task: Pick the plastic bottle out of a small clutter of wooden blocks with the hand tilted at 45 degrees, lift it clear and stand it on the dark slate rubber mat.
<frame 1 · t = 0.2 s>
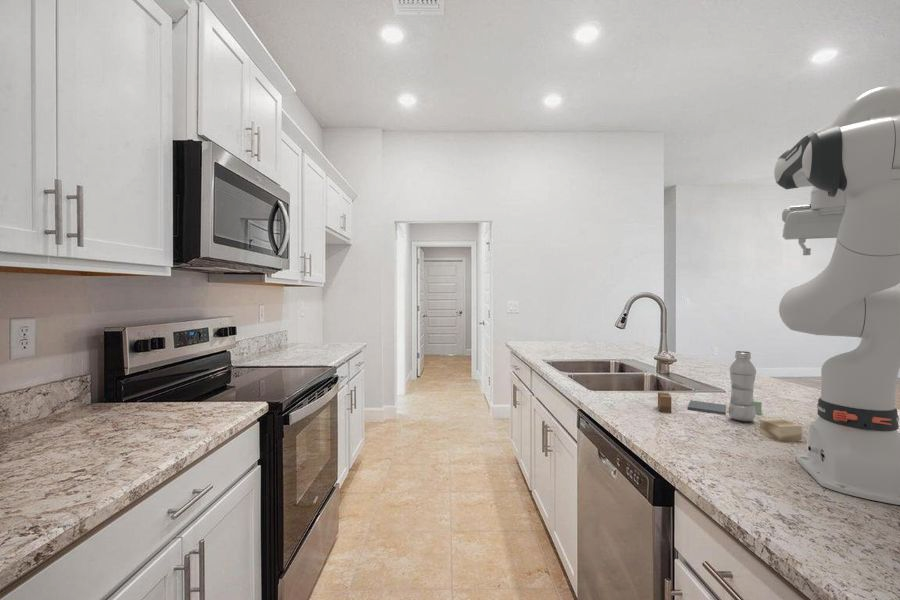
hand: (829, 254, 112), 47 cm above the worktop, tool pointing down, fingers open, 8 cm apart
plastic bottle: (741, 421, 121), on the worktop
sage brick: (752, 412, 129), on the worktop
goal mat: (706, 408, 133), on the worktop
beech brick: (780, 437, 107), on the worktop
walnut brick: (664, 410, 131), on the worktop
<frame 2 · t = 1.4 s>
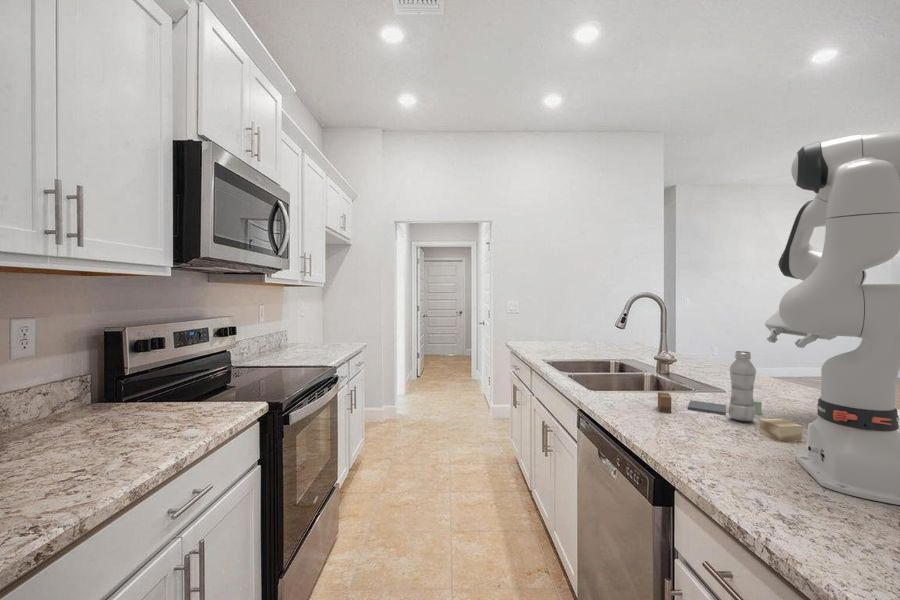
hand: (783, 343, 121), 22 cm above the worktop, tool tilted 45°, fingers open, 8 cm apart
nothing on the worktop moved.
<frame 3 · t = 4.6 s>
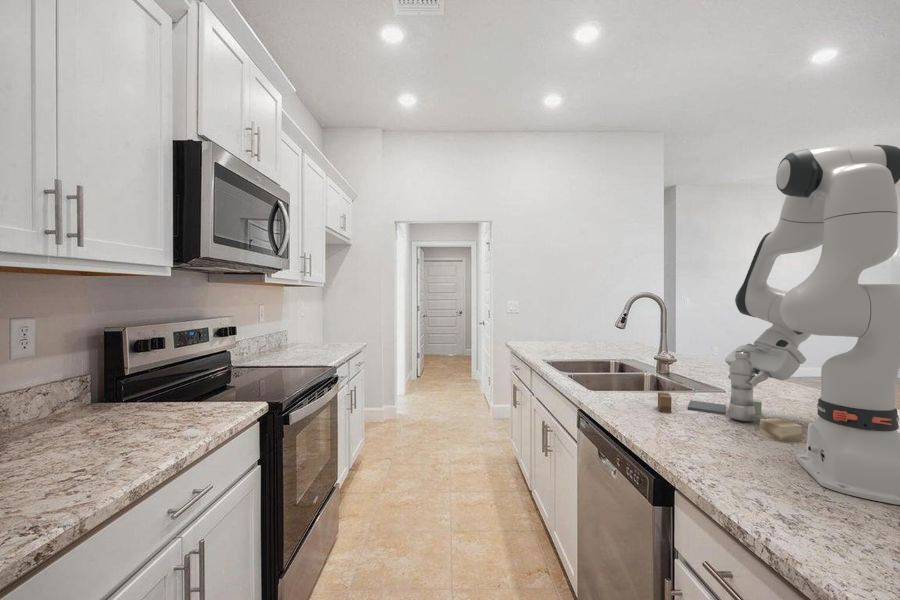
hand: (740, 381, 121), 11 cm above the worktop, tool tilted 45°, fingers closed on plastic bottle, 6 cm apart
plastic bottle: (741, 421, 121), on the worktop, touching gripper
everything else where it was.
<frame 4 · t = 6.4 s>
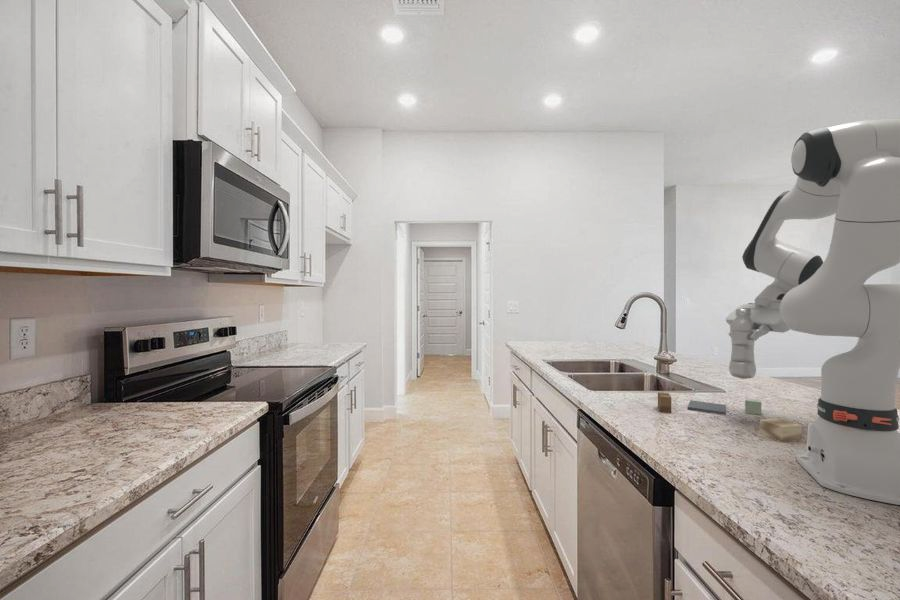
hand: (741, 337, 120), 24 cm above the worktop, tool tilted 45°, fingers closed on plastic bottle, 6 cm apart
plastic bottle: (742, 379, 121), point 12 cm above the worktop, touching gripper
everything else where it was.
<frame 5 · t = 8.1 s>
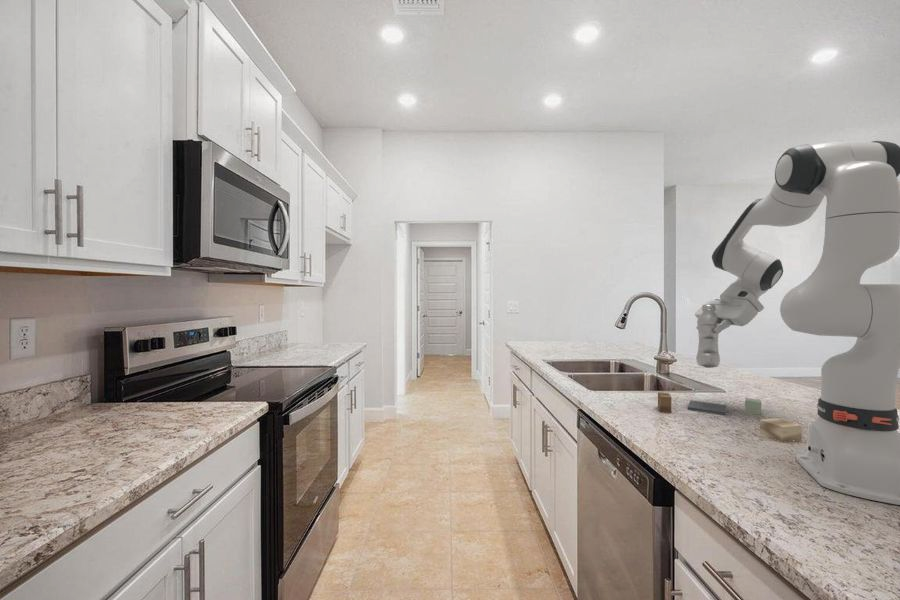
hand: (706, 330, 133), 25 cm above the worktop, tool tilted 45°, fingers closed on plastic bottle, 6 cm apart
plastic bottle: (707, 368, 133), point 13 cm above the worktop, touching gripper
everything else where it was.
when the fingers open (14 cm above the worktop, at t = 10.6 s): plastic bottle moves 3 cm, resting on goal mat.
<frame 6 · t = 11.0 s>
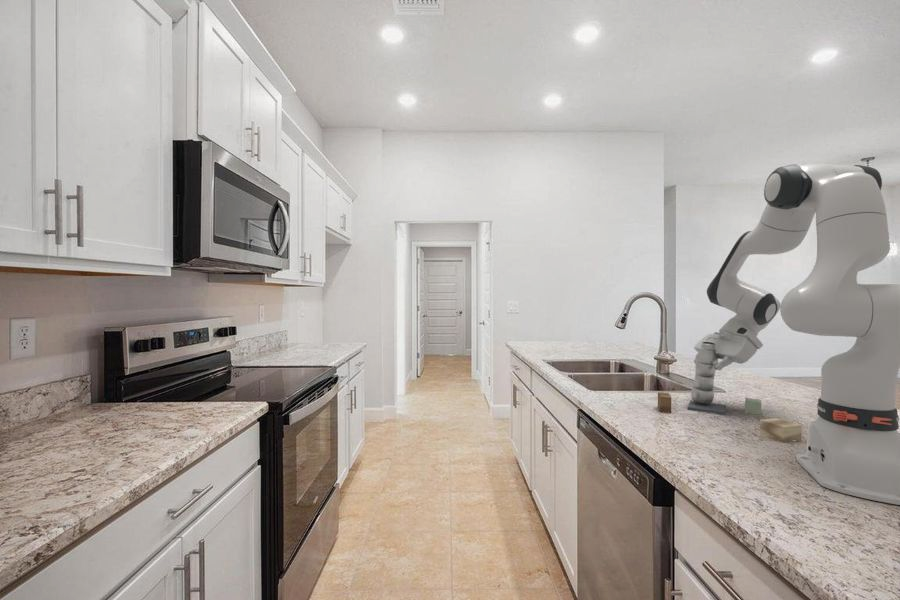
hand: (705, 365, 133), 14 cm above the worktop, tool tilted 45°, fingers open, 8 cm apart
plastic bottle: (701, 403, 136), point 1 cm above the worktop, touching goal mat, gripper
everything else where it was.
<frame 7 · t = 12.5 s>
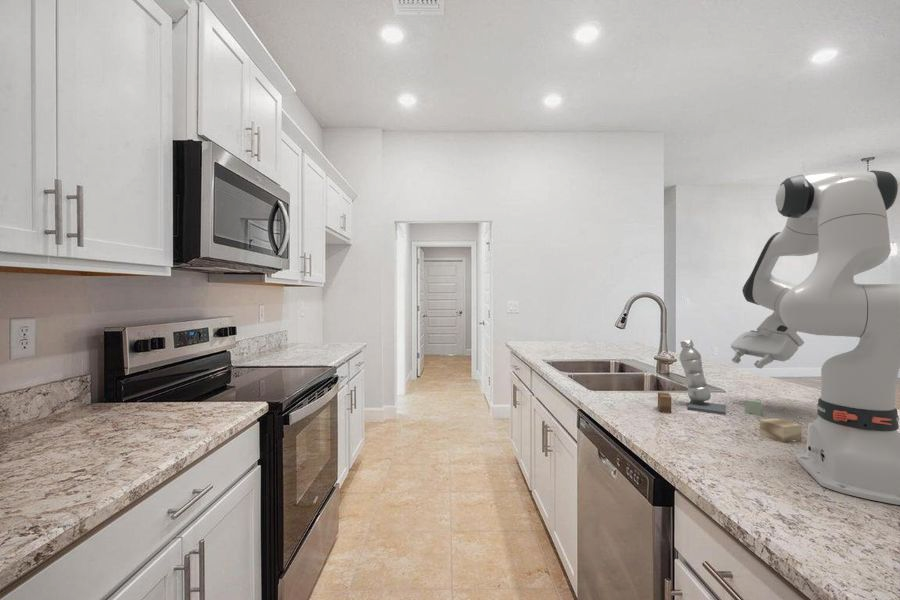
hand: (745, 364, 134), 14 cm above the worktop, tool tilted 45°, fingers open, 8 cm apart
plastic bottle: (701, 402, 136), point 1 cm above the worktop, touching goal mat
everything else where it was.
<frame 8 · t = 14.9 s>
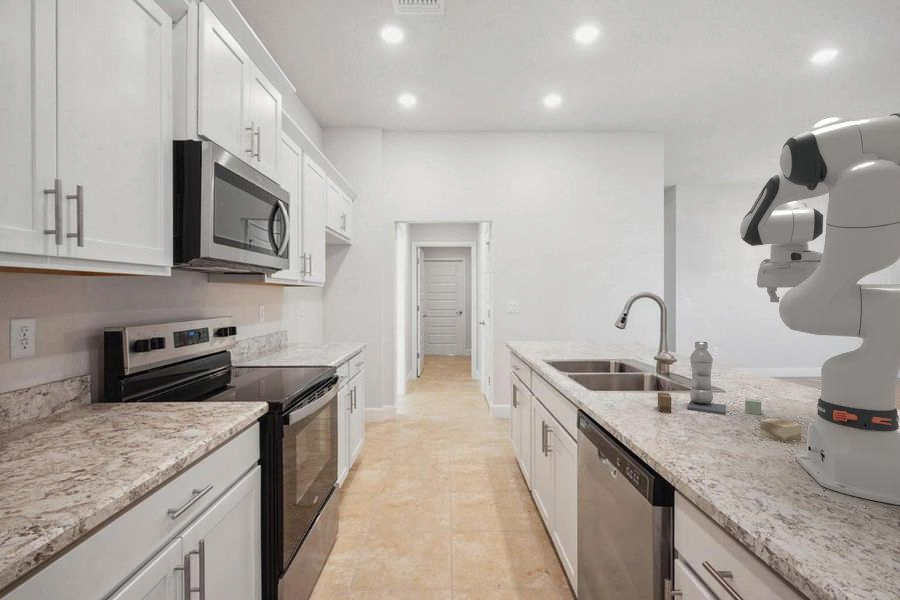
hand: (787, 302, 126), 34 cm above the worktop, tool pointing down, fingers open, 8 cm apart
at the end: plastic bottle inside the target area on the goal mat (2.7 cm from its centre), point 0.7 cm above the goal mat's base; plastic bottle tilted 1°; the gripper is holding nothing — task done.
